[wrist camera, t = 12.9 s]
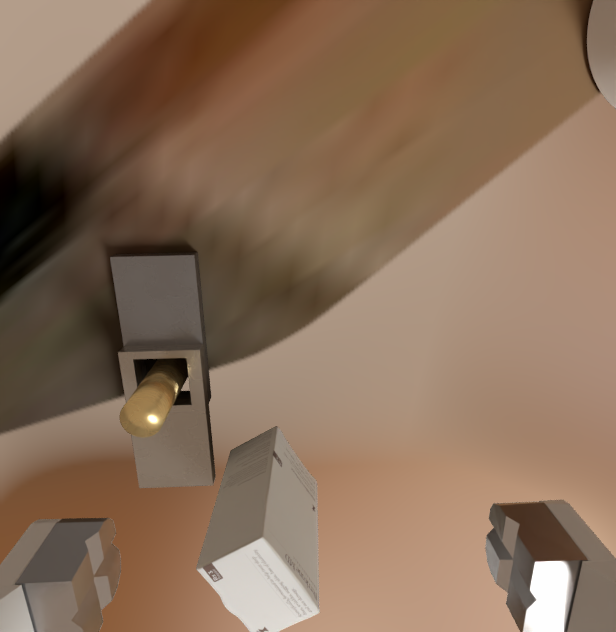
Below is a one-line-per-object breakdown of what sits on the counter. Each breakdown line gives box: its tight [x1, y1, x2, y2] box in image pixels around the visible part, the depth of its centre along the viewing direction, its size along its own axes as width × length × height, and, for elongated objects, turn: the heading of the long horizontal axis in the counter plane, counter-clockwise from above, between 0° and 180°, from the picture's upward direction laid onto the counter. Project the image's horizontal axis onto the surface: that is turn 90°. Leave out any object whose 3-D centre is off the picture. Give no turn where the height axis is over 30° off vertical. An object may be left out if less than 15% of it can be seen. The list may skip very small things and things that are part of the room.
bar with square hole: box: [110, 252, 215, 488], centre depth 41 cm, size 7×22×3 cm, turn 1°
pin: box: [120, 358, 188, 438], centre depth 38 cm, size 3×3×9 cm
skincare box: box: [196, 426, 320, 632], centre depth 39 cm, size 8×6×15 cm
